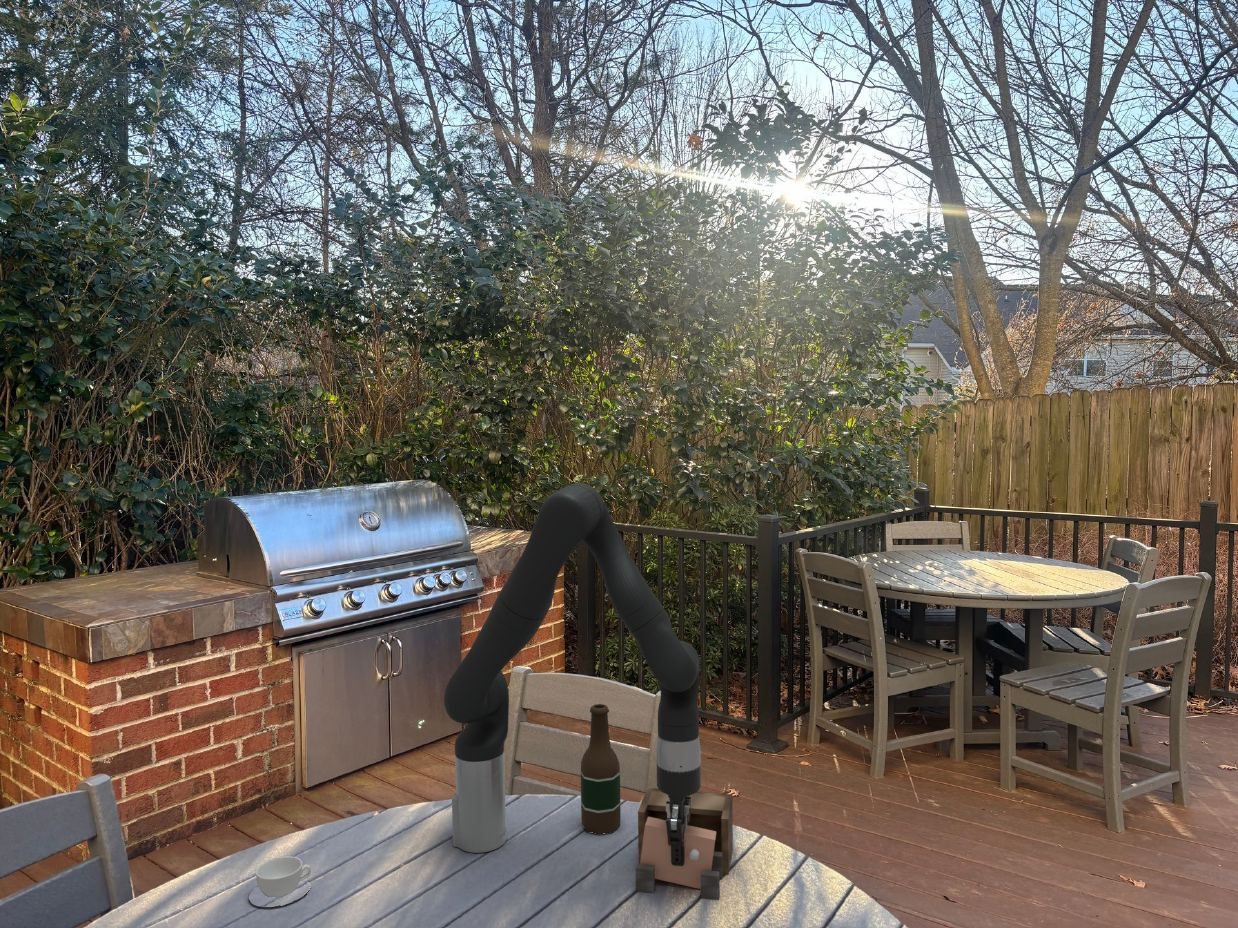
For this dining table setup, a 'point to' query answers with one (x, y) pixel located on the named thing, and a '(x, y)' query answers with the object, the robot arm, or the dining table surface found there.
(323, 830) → the dining table surface
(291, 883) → the teacup
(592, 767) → the beer bottle
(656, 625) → the robot arm
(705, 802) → the cabinet
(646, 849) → the door
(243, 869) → the dining table surface
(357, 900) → the dining table surface
